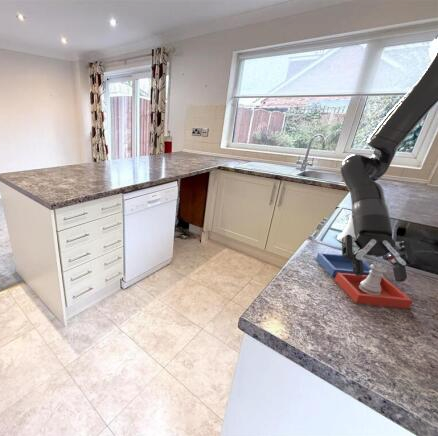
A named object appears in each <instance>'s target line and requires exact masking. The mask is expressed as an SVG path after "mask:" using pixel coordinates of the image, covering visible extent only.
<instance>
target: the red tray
mask: <svg viewBox="0 0 438 436" xmlns="http://www.w3.org/2000/svg"><path fill="white" fill-rule="evenodd" d="M367 277H368V275H363V276H356V275H355V274H348V273H337V275H336V277H334V281H335V282H336V283H337V284H338V285H339V286H340V287H341V289H343V291H344V292H345V293H346V294H347V295H348V296H349V297H350V299H352V301H354V303H356V304H362V305H363V304H364V305H372V306H381V307H392V308H401V309H410V307H411V305H412V304H413V302H414V300H413V299H412V298H411V297H409V296H408V295H407V294H406V293H404V292H403V291H402V290H401V289H400V288H399V287H397V286H395V284H393V283H392V282H391V281H390V280H388V279H387V278H386V277H385V276H383V277H382V278H381V282H380V285H381V289H382V290H381V292H380V295H371V294H366V293H364V292H362V291H361V290H360V289H359V285H360V282H362V281H364V280H365V279H366V278H367Z"/></svg>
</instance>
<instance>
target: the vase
mask: <svg viewBox="0 0 438 436" xmlns="http://www.w3.org/2000/svg"><path fill="white" fill-rule="evenodd" d="M346 235H351V236H352V237H355V234H354V227H353V219H352V213H350V214H349V218H348V221H347V224H346V226H345V228H344V229H343V230H342V231H341V232H340V234H338V235H337V237H336V239H337V240H338V241H339V242H341V243H342V238H343V237H345V236H346ZM352 246H356V247H358V246H357V245H356V244H355V242H354V243H353V244H352Z"/></svg>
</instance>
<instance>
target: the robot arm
mask: <svg viewBox="0 0 438 436" xmlns="http://www.w3.org/2000/svg"><path fill="white" fill-rule="evenodd" d="M429 56H430V59H431V62H430V63H429V65H428V66H427V68H426V69H425V71H424V72H423V74H422V75H421V76H420V77H419V79H418V80H417V81H416V82H415V84H414V85H413V86H412V87H411V89H410V90H409V91H408V92H407V93H406V94H405V95H404V96H403V97H402V99H400V100H399V101H398V103H396V104H395V106H394V107H392V109H391V110H390V111H389V112H388V113H387V114H386V116H385V117H384V118H383V119H382V120H381V122H380V123H379V124H378V126H377V127H376V128H375V130H373V132H372V134H371V135H370V136H369V138H367V142H366V145H368V146H369V147H370V148H371V149H373V153H372V156H368V155H364V154H359V153H354V154H351V155H349V156H347V157H346V158H345V159H344V160H343V161H342V162H341V165H340V175H341V178H342V181H343V183H344V184H345V186H346V188H347V190H348V192H349V194H350V201H351V214H352V219H353V227H354V234H355V237H352V236H351V235H346V236H345V237H343V238H342V242H341V255H342V257H343V258H347V259H349V260H351V261H352V267H353V272H354V273H355V275H356V276H363V275H364V270H363V263H362V260H363V259H362V258H364V256H365V255H366V256H374V257H382V258H383V259H384V260H385V261H388V262H389V263H390V264H391V265H392V266H393V267H392V270H393V277H394V281H395V282H397V283H403V282H406V280H407V279H408V275H407V270H406V267H407V266H411V265H415V258H414V254H413V251H412V248H411V244H410V242H409V241H408V240H403V241H395V240H394V239H393V226H392V221H391V216H390V211H389V208H388V205H387V202H386V197H385V192H384V188H383V186H382V185H381V184H380V183H379V182H377V181H378V180H380V179H381V178H383V176H384V175H385V174H386V173H387V171H388V170H389V168H390V166H391V163H392V162H393V159H394V158H395V156H396V153H397V151H398V149H399V148H400V146H402V144H403V143H404V142H405V141H406V139H408V137H409V136H410V135H411V133H412V132H413V131H414V130H415V129H416V128H417V126H419V124H420V123H421V122H422V121H423V119H424V118H425V117H426V116H427V114H428V113H429V112H430V111H431V110H432V109H433V108H434V107H435V105H436V104H437V103H438V34H437V35H436V36H435V37H434V39H433V40H432V42H431V44H430V48H429ZM354 242H355V244H356V245H357V246H356V247H358V248H357V249H356V250H355V252H353V250H354V249H353V245H352V244H353V243H354ZM360 259H362V260H360Z"/></svg>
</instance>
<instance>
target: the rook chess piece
mask: <svg viewBox="0 0 438 436" xmlns="http://www.w3.org/2000/svg"><path fill="white" fill-rule="evenodd" d="M369 265H370V267H371V270H370V271H369V272H370V273H369V275H368V277H367V278H366V279H365V280H364V281H362V282H360V285H359V289H360V290H361V291H362V292H364V293H366V294H371V295H380V292H381V290H382V289H381V285H380V282H381V278H382V277H385V275H384V274H385V273H387V272H388V269H387V265H385V264H383V263H380V262H373V263H372V264H369Z"/></svg>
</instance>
